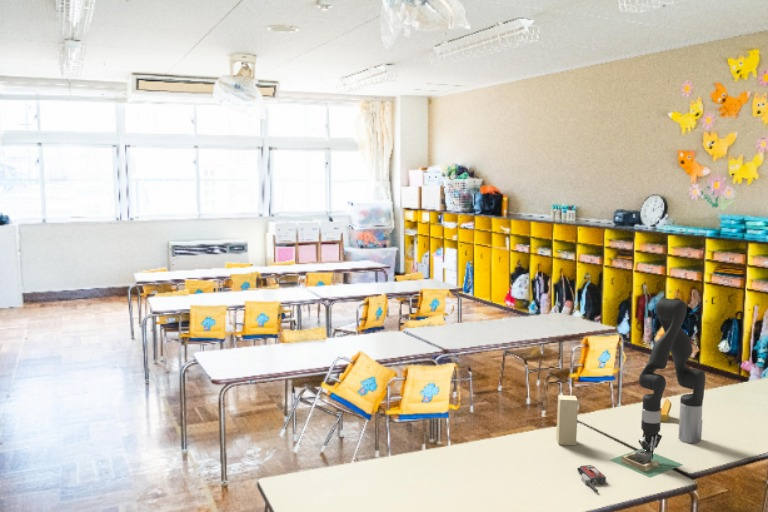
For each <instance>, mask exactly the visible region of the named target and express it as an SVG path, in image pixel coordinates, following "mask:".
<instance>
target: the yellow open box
mask: <svg viewBox="0 0 768 512" xmlns="http://www.w3.org/2000/svg"><path fill="white" fill-rule="evenodd" d="M671 408H672V402H671V401H670V400H669V398H665V399H664V401H663V404H662V407H661V408H660V412H661V422H662V421H664V423H665V422H666V423H667V422H668V421H669V418H670V414H669V413H670V411H671Z"/></svg>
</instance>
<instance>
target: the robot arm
mask: <svg viewBox="0 0 768 512" xmlns="http://www.w3.org/2000/svg"><path fill="white" fill-rule="evenodd" d="M655 306H656V307H655V311H656V316H657V319H658V321H659V322H660V325H661V327H662V329H663V332H664V333H663V334H662V335H661V336H660V337H659V338H658V339H657V341H656V342H655V343H654V344H653V346H652V347H651V348H652V349H651V352H650V355H649V358H648V361H647V363H646V365H645V366H644V368H643V370H642V371H641V372H640V374H639V377H638V383H639V385H640V387H641V388H643V389H647V390H651V391H653V393H645V394H644V395H643V397H642V408H641V409H642V410H641V423H640V424H641V425H640V427H641V430H642V432H643V433H642V438H640V439H638V443H639V445H640V447H641V449H645V450H646V451H648V452H652V459H653V453H654V451H655V449H657V448H658V446H659V444H660V442H661V440H662V438H663V435H662V434H660V432H661V423H662V421H661V412H660V408H662V407H661V406H662V405H661V404H662V403H661V402H662V398H663V394H664V391H665V389H666V386H667V380H666V377H665V376H663V375H662V374H659V373H655V372H656V370H664V369H666V368H667V365H668V361H669V358H670V355H671V356H672V357H671V358H672V361H673V365H674V369H675V373H676V380H677V383H678V385H679V386H680V387H682V388H685V389H689V390H692V393H686V394H682V395H681V396H680V399H679V400H680V401H679V420H678V438H677V439H678V440H679V441H681V442H683V443H688V444H699V443H701V440H702V434H703V418H702V417H703V402H704V397H705V396H704V395H705V387H706V374H705V371H703V370H701V369H697V368H691V367H688V366H687V361H688V360H689V359H690V357H691V356H692V353H693V349H694V348H693V344H692V340H691V337H690V336H689V335H688V333H687V332H686V331H685V329H683V328H682V326H683V324H684V322H685V319H686V316H687V310H688V309H687V308H688V307H687V304H686V302H685V301H683V300H680V299H672V298H667V297H666V298H665V297H664V298H663V297H662V298H660V299H658V300H657V302H656V305H655Z"/></svg>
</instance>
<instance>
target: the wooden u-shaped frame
mask: <svg viewBox="0 0 768 512" xmlns="http://www.w3.org/2000/svg"><path fill="white" fill-rule="evenodd" d="M633 452H634V451H633ZM630 453H631V452H630ZM635 453H636V452H634V453H631V454H628V453H627V454H628V455H626V456H623V457H621V463H623V464H626V465H628V466H630V467H633V468H635V469H637V470H640V471H642V472H645V471H648V470H651V469H653V468H656V467H658V461H657V460H655V461H653V462H650V463H647V464H644V465H642V464H640V463H638V462H635V461H633V460H634V459H635Z"/></svg>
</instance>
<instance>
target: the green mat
mask: <svg viewBox="0 0 768 512" xmlns="http://www.w3.org/2000/svg"><path fill="white" fill-rule="evenodd" d="M640 449H641V450H645V449H643V448H639V449H637V450H634V451H631V452H628V453H625V454H622V455H619V456H617V457H614V458H611V459H609V461H611V462H613V463H616V464H618V465H619V466H622V467H623V468H627V469H629V470H632V471H633V472H636V473H638V474H641V475H642V476H645V477H647V478H652V477H656V476H658V475H661V474H663V473H666V472H669V471H670V470H673V469H675V468H678V467H681V466H684V464H683V463H680V462H677V461H675V460H673V459H670V458H668V457H665V456H663V455H660V454H658V453H655V452H653V453H654V454H653V459H652V461H651V462H653V461H655V460H657V461H658V467H656V468H653V469H651V470H648V471H645V472H642V471H640V470H637V469H635V468H633V467H630V466H628V465H626V464H623V463H621V457H623V456H626V455H628V454H631V453H634V452H637V451H638V450H640ZM633 461H635V459H634V460H633Z"/></svg>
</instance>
